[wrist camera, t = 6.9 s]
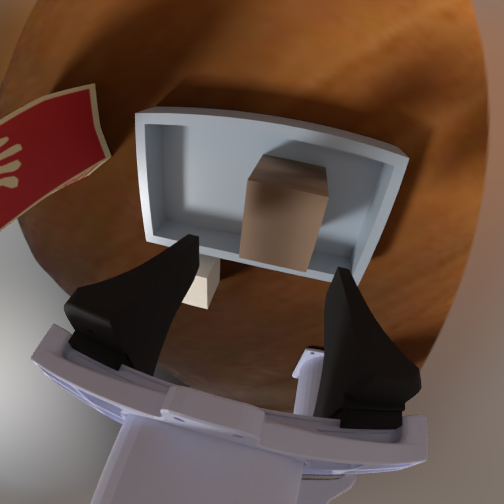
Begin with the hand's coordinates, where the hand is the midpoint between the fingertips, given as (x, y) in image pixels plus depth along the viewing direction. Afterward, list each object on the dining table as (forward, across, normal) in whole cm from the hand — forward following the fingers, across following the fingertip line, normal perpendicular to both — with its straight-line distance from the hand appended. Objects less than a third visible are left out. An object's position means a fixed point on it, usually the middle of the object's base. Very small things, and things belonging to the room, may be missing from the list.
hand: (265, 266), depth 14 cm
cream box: (+8, +7, +9) cm, 14 cm away
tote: (+8, +2, 0) cm, 9 cm away
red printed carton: (+9, +21, -3) cm, 23 cm away
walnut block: (+8, 0, 0) cm, 8 cm away
